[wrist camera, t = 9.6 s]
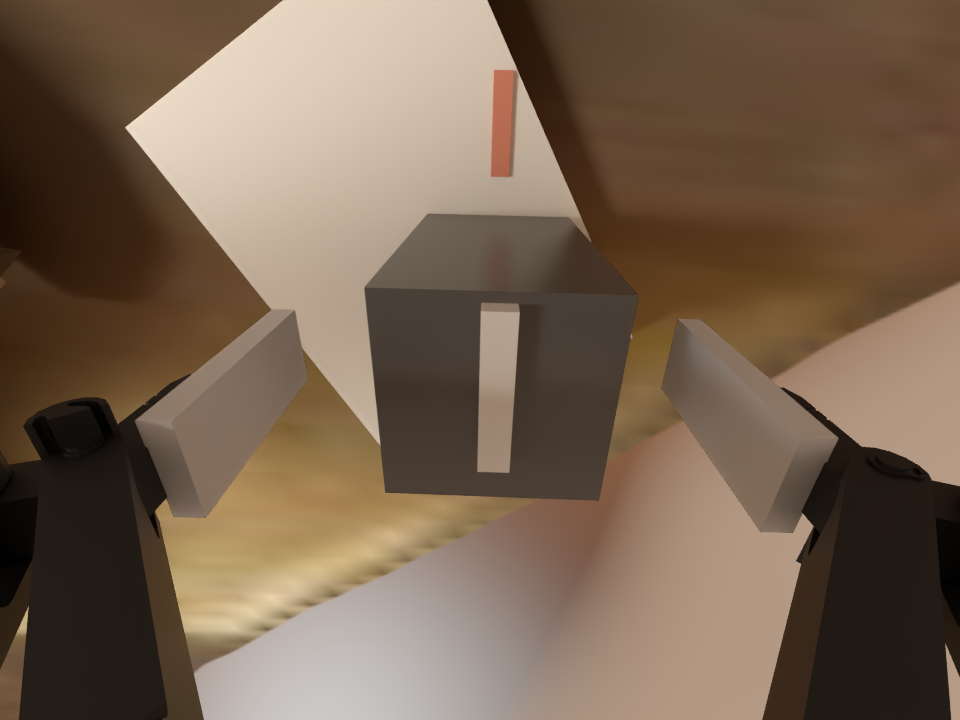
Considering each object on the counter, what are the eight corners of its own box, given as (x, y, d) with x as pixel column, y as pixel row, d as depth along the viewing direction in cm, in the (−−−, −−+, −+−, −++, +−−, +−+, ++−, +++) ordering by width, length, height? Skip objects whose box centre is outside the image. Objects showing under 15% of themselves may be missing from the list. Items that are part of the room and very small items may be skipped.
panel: (390, 430, 29) (361, 511, 23) (156, 128, 21) (14, 125, 15) (623, 323, 25) (665, 386, 19) (440, -96, 17) (409, -226, 11)
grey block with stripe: (554, 345, 23) (603, 515, 13) (431, 341, 24) (381, 507, 13) (568, 217, 20) (646, 303, 10) (427, 213, 21) (357, 295, 10)
